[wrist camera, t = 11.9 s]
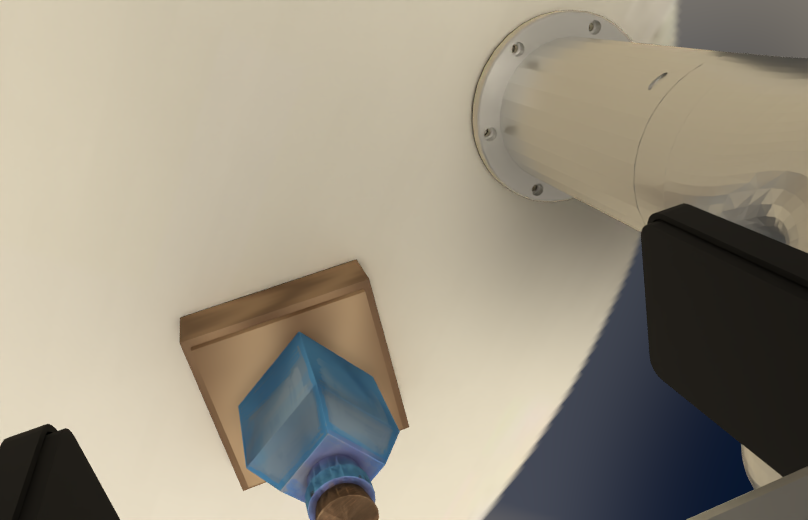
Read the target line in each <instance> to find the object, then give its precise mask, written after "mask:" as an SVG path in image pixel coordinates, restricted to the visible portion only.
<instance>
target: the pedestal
mask: <svg viewBox="0 0 808 520" xmlns="http://www.w3.org/2000/svg"><path fill="white" fill-rule="evenodd" d="M298 332H301V333H303V334H304V335H306V336H308V337H309V338H311V339H312V340H314V341H316V342H317V343H319V344H320V345H322V346H324V347H325V348H327V349H329V350H330V351H332V352H333V353H335V354H337V355H338V356H340V357H342V358H343V359H345V360H346V361H348V362H350V363H351V364H353V365H355V366H356V367H358V368H359V369H361V370H363V371H364V372H366V373H368V374H369V375H371V376H372V377H373V378H374V380H375V382H376V384H377V386H378V388H379V390H380V392H381V394H382V396H383V398H384V400H385V402H386V404H387V406H388V408H389V411H390V413H391V415H392V417H393V419H394V421H395V423H396V425H397V427H398V429H399V431H400V430H403V429H405V428H408V427H409V424H408V421H407V417H406V413H405V410H404V406H403V402H402V399H401V395H400V391H399V388H398V384H397V380H396V377H395V373H394V369H393V366H392V362H391V358H390V354H389V351H388V347H387V343H386V340H385V336H384V332H383V329H382V325H381V321H380V318H379V314H378V310H377V307H376V303H375V299H374V296H373V292H372V288H371V285H370V281H369V278H368V277H367V275H366V274H365V272H364V271H363V269H362V267H361V266H360V264H359V263H358V261H357V260H353V261H350V262H347V263H344V264H341V265H338V266H335V267H332V268H329V269H326V270H323V271H320V272H317V273H314V274H311V275H308V276H305V277H302V278H299V279H296V280H293V281H290V282H287V283H284V284H281V285H278V286H275V287H272V288H269V289H266V290H263V291H260V292H257V293H254V294H251V295H248V296H245V297H242V298H239V299H236V300H233V301H230V302H226V303H223V304H220V305H217V306H214V307H211V308H208V309H205V310H202V311H199V312H196V313H193V314H190V315H187V316H184V317H181V318H180V345H181V347H182V350H183V352H184V354H185V356H186V359H187V361H188V363H189V366H190V368H191V370H192V373H193V375H194V377H195V380H196V382H197V384H198V387H199V389H200V391H201V394H202V396H203V398H204V401H205V403H206V405H207V408H208V410H209V412H210V415H211V417H212V419H213V422H214V424H215V426H216V429H217V431H218V433H219V436H220V438H221V440H222V443H223V445H224V447H225V450H226V452H227V454H228V457H229V459H230V461H231V464H232V466H233V468H234V471H235V473H236V475H237V478H238V480H239V482H240V485H241V487H242V489H243V491H244V490H247V489H250V488H252V487H255V486H257V485H260V484H263V483H265V482H266V481H265V480H263V479H262V478H260V477H259V476H257V475H256V474H254V473H253V472H251V471H250V470H248V469H247V468H246V463H245V455H244V448H243V440H242V432H241V424H240V416H239V408H238V406H239V405H240V403H241V402H242V401H243V400H244V398H245V397H246V396H247V395H248V393H249V392H250V391H251V390H252V389H253V387H254V386H255V385H256V384H257V382H258V381H259V380H260V379H261V377H262V376H263V375H264V374H265V373H266V371H267V370H268V369H269V368H270V366H271V365H272V364H273V363H274V361H275V360H276V359H277V358H278V357H279V355H280V354H281V353H282V352H283V350H284V349H285V348H286V347H287V345H288V344H289V343H290V342H291V341H292V339H293V338H294V337H295V336H296V334H297V333H298Z"/></svg>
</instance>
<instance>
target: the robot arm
mask: <svg viewBox="0 0 808 520" xmlns="http://www.w3.org/2000/svg"><path fill="white" fill-rule="evenodd" d="M589 25H590V29H589ZM513 45H514V46H515V50H514V52H512V46H513ZM472 122H473V130H474V138H475V142H476V145H477V148H478V151H479V154H480V157H481V158H482V160H483V162H484V164H485V165H486V167H487V169H488V170H489V171H490V173H491V174H492V175H493V176H494V177H495V178H496V179H497V180H498V182H500V183H501V184H503V185H504V186H505V187H507V188H508V189H509V190H511V191H513V192H515V193H517V194H518V195H520V196H522V197H525V198H528V199H531V200H534V201H543V202H557V201H565V200H569V199H572V198H576V199H578V200H580V201H582V202H583V203H585V204H587V205H589V206H591V207H593V208H595V209H597V210H599V211H601V212H603V213H605V214H607V215H609V216H611V217H612V218H614V219H616V220H618V221H620V222H622V223H624V224H626V225H628V226H630V227H632V228H634V229H636V230H638V231H640V232H641V242H642V256H643V270H644V283H645V297H646V311H647V325H648V339H649V352H650V361H651V364H652V367H653V369H654V371H655V372H656V374H657V375H658V376H659V377H660V378H661V379H662V380H663V381H664V382H665V383H667V384H668V385H669V386H670V387H672V388H673V389H674V390H675V391H676V392H678V393H679V394H680V395H681V396H683V397H684V398H685V399H686V400H688V401H689V402H691V403H692V404H693V405H694V406H695V407H697V408H698V409H699V410H700V411H701V412H703V413H704V414H705V415H706V416H708V417H709V418H710V419H711V420H713V421H714V422H715V423H716V424H717V425H719V426H720V427H721V428H722V429H724V430H725V431H726V432H728V433H729V434H730V435H731V436H732V437H734V438H735V439H736V440H738V441H739V442H740V443H741V448H742V458H743V463H744V467H745V470H746V474H747V476H748V478H749V480H750V482H751V484H752V486H753V488H754V490H753V491H751V492H748V493H746V494H744V495H742V496H739V497H737V498H735V499H732V500H730V501H728V502H726V503H724V504H721V505H719V506H717V507H714V508H712V509H710V510H708V511H705V512H703V513H701V514H699V515H697V516H694V517H692V518H690V519H687V520H808V58H791V57H779V56H767V55H756V54H747V53H745V54H744V53H731V52H721V51H712V50H702V49H692V48H682V47H673V46H663V45H653V44H643V43H633V42H631V40H630V39H629V37H628V36H627V35H626V34H625V33H624V32H623V31H622V30H621V29H620V28H619V27H618V26H617V25H616V24H614V23H613V22H611V21H609V20H608V19H606V18H604V17H603V16H600V15H596V14H593V13H590V12H586V11H574V10H568V11H554V12H551V13H547V14H543V15H540V16H537V17H535V18H533V19H531V20H529V21H528V22H526V23H524V24H522V25H521V26H519V27H518V28H517V29H516V30H514V31H513V32H512V33H511V34H509V35H508V36H507V37H506V38H505V39H504V41H503V42H502V43H501V44H500V45H499V46H498V47H497V48H496V50H495V51H494V53H493V54H492V56H491V57H490V59H489V61H488V62H487V64H486V66H485V67H484V70H483V72H482V75H481V77H480V80H479V82H478V85H477V89H476V94H475V98H474V103H473V121H472ZM486 129H488V133H487V135H485V136H484V133H485V131H486ZM533 186H534V188H533ZM532 188H533V189H532ZM0 520H120V519H119V517H118V515H117V513H116V511H115V509H114V508H113V506H112V504H111V502H110V500H109V499H108V497H107V495H106V493H105V491H104V489H103V488H102V486H101V484H100V482H99V480H98V479H97V477H96V475H95V473H94V471H93V469H92V468H91V466H90V464H89V462H88V460H87V458H86V457H85V455H84V453H83V451H82V449H81V448H80V446H79V444H78V442H77V440H76V438H75V437H74V435H73V434H72V432H71V431H70V430H69V429H66V428H65V429H62V430H59V431H57V430H56V429H55V428H54V427H53V426H52V425H50V424H46V425H43V426H40V427H37V428H35V429H32V430H29V431H26V432H23V433H20V434H17V435H14V436H12V437H9V438H6V439H4V441H3V442H2V444H1V446H0Z"/></svg>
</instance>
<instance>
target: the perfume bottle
mask: <svg viewBox="0 0 808 520" xmlns="http://www.w3.org/2000/svg"><path fill="white" fill-rule="evenodd" d="M238 408H239V416H240V424H241V432H242V440H243V448H244V455H245V463H246V468H247V469H248V470H250V471H251V472H253V473H254V474H256V475H257V476H259V477H260V478H262V479H263V480H265V481H266V482H268V483H269V484H271V485H272V486H274V487H275V488H277V489H278V490H280V491H281V492H283V493H286V494H288V495H290V496H292V497H294V498H296V499H298V500H300V501H302V502H305V503H306V507H307V511H308V516H309V519H310V520H378V519H379V513H378V508H377V507H376V505H375V492H374V489H373V486H372V484H371V481H372V480H373V478H374V477H375V476H376V475H377V474H378V473H379V471H380V470H381V469H382V468H383V467H384V465H385V464H386V462H387V459H388V457H389V455H390V452H391V450H392V448H393V445H394V443H395V441H396V439H397V436H398V434H399V432H400V431H399V429H398V427H397V425H396V423H395V421H394V419H393V417H392V415H391V413H390V411H389V408H388V406H387V404H386V402H385V400H384V398H383V396H382V394H381V392H380V390H379V388H378V386H377V384H376V382H375V380H374V378H373V377H372V376H371V375H369V374H368V373H366V372H364V371H363V370H361V369H359V368H358V367H356V366H355V365H353V364H351V363H350V362H348V361H346V360H345V359H343V358H342V357H340V356H338V355H337V354H335V353H333V352H332V351H330V350H329V349H327V348H325V347H324V346H322V345H320V344H319V343H317V342H316V341H314V340H312V339H311V338H309V337H308V336H306V335H304V334H303V333H301V332H298V333H297V334H296V336H295V337H294V338H293V339H292V341H291V342H290V343H289V344H288V345H287V347H286V348H285V349H284V350H283V352H282V353H281V354H280V355H279V357H278V358H277V359H276V360H275V361H274V363H273V364H272V365H271V366H270V368H269V369H268V370H267V371H266V373H265V374H264V375H263V376H262V377H261V379H260V380H259V381H258V382H257V384H256V385H255V386H254V387H253V389H252V390H251V391H250V392H249V393H248V395H247V396H246V397H245V398H244V400H243V401H242V402H241V403H240V405H239V406H238Z"/></svg>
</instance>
